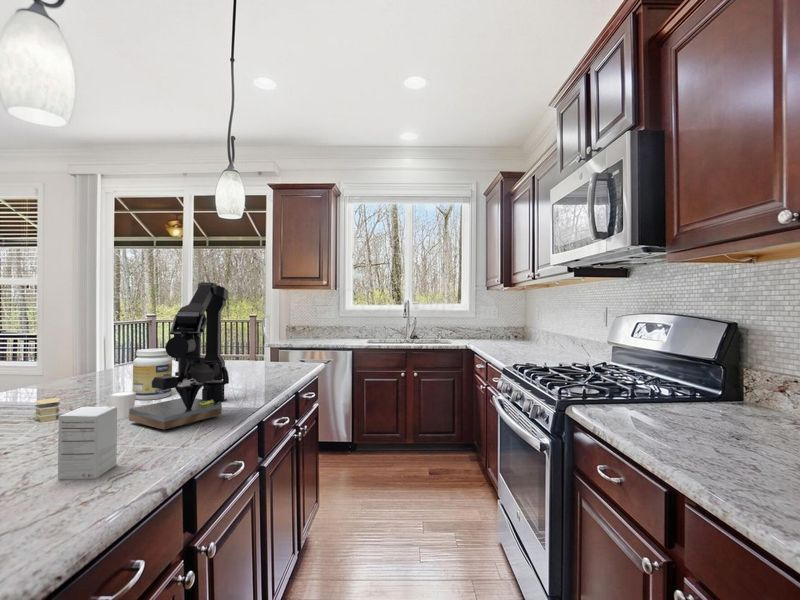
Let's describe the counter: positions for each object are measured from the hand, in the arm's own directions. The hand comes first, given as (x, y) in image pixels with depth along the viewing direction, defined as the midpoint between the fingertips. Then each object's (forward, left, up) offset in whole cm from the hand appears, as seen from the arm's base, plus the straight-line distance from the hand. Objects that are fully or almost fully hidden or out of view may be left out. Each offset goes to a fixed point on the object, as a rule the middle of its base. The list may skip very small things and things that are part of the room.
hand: (188, 408), depth 121 cm
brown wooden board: (0, -5, -4) cm, 7 cm away
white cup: (+6, -22, -4) cm, 24 cm away
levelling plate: (0, -5, -1) cm, 5 cm away
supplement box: (+32, +14, -4) cm, 35 cm away
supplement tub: (-14, -40, -4) cm, 43 cm away
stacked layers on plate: (+18, -38, -5) cm, 43 cm away
